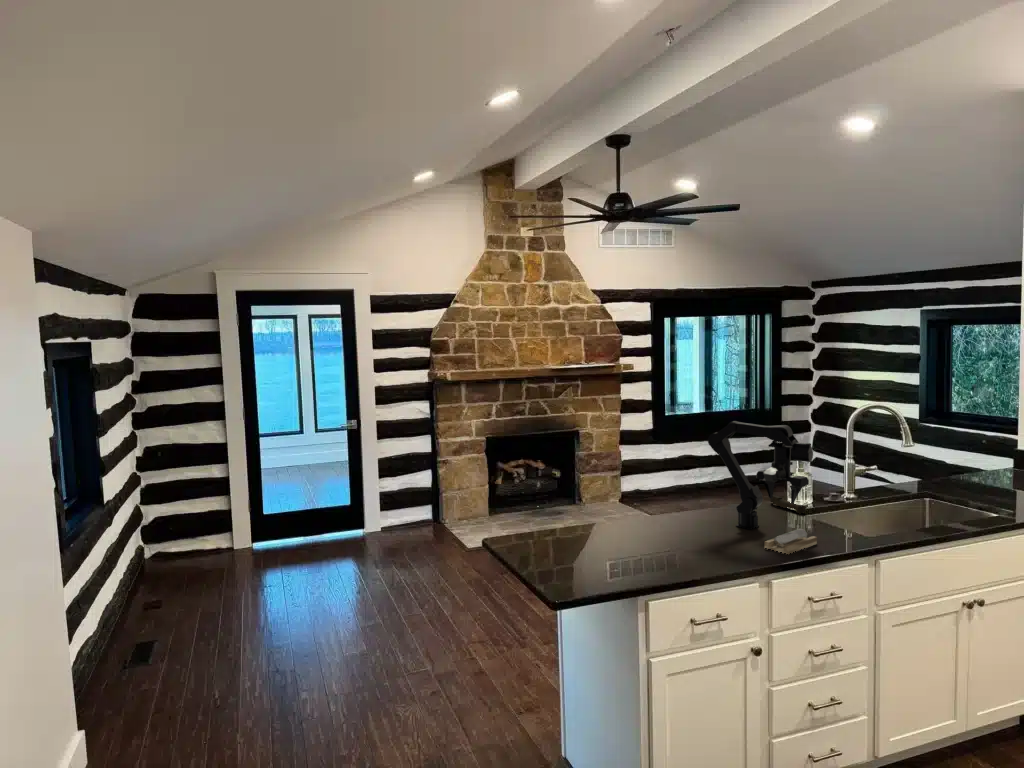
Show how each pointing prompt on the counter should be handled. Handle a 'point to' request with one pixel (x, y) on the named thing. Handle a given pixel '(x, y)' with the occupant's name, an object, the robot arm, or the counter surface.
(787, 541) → the axle
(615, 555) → the counter surface
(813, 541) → the cradle
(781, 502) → the hand tool
